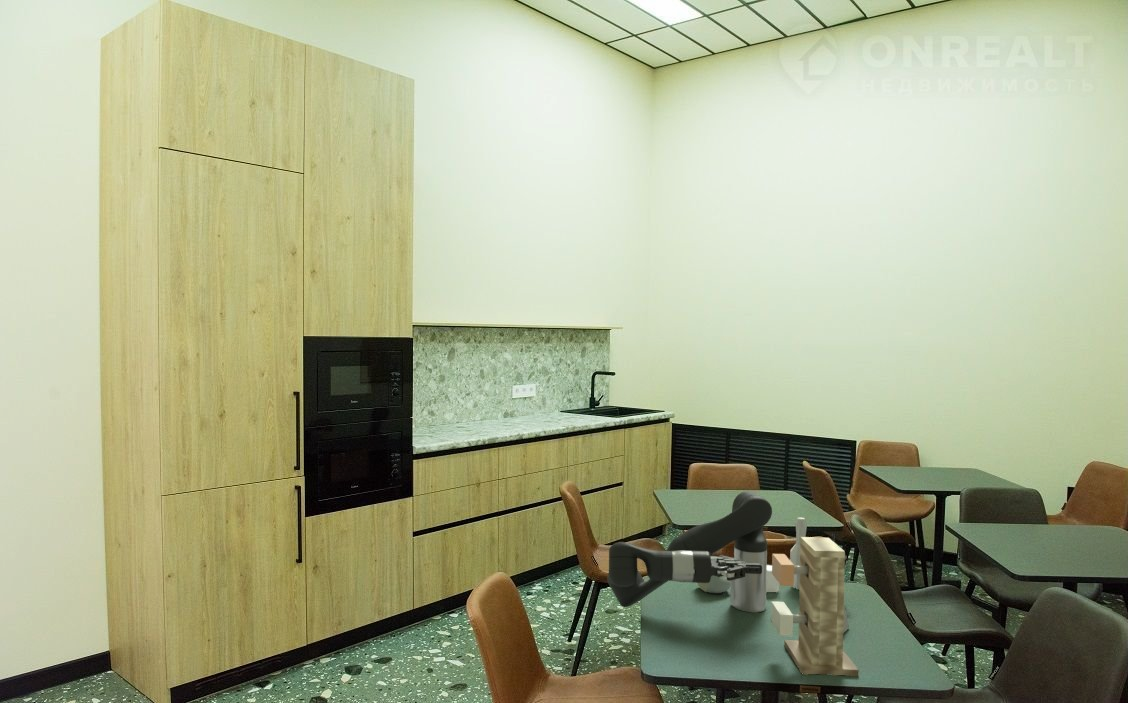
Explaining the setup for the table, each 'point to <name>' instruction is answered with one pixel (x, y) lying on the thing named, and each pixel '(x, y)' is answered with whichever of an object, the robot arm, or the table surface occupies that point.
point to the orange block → (786, 569)
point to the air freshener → (715, 584)
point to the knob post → (821, 611)
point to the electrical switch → (845, 622)
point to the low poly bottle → (798, 548)
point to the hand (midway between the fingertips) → (761, 568)
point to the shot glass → (771, 581)
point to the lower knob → (785, 618)
